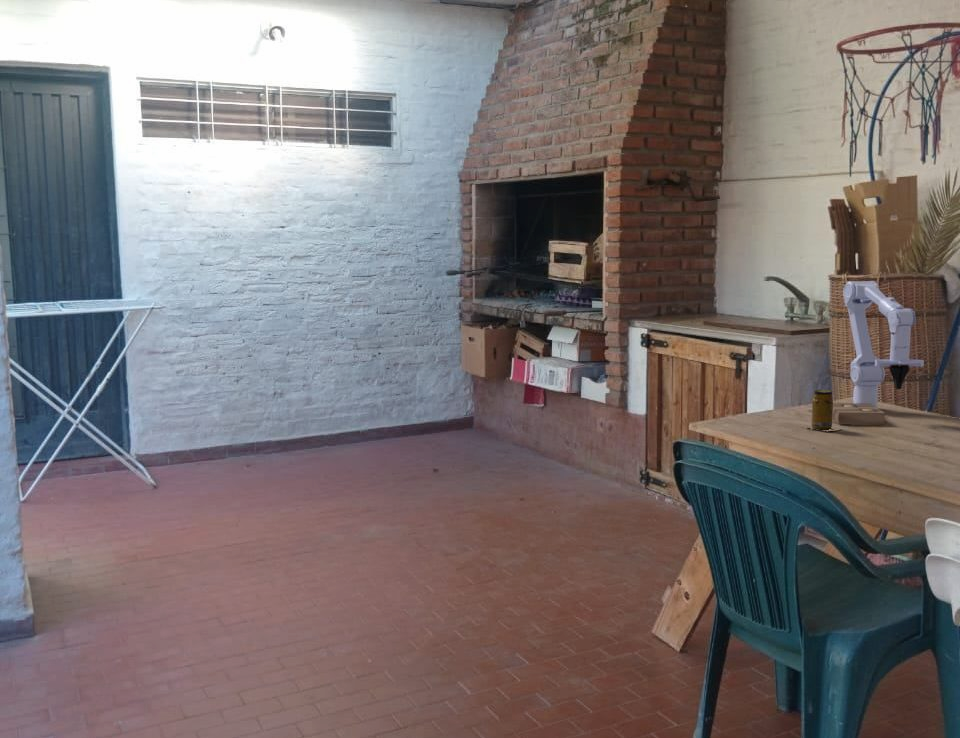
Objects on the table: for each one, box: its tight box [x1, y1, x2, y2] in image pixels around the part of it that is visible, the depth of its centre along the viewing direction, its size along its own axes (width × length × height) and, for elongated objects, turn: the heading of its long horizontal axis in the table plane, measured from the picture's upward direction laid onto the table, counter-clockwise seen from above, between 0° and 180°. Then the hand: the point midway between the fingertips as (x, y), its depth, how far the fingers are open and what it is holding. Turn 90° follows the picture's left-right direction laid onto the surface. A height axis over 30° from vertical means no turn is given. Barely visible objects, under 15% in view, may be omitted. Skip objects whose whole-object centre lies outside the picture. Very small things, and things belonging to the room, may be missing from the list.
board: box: [832, 402, 886, 426], centre depth 323 cm, size 16×14×4 cm
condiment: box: [811, 389, 834, 433], centre depth 309 cm, size 7×8×12 cm
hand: (897, 388), depth 320 cm, fingers closed
